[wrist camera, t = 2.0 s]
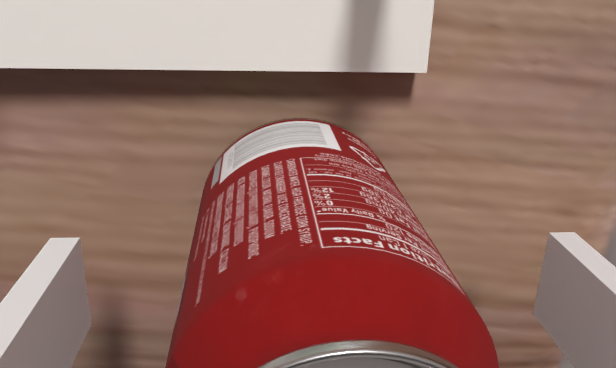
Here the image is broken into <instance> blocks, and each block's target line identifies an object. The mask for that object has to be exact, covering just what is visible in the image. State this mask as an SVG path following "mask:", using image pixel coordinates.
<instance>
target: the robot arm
mask: <svg viewBox="0 0 616 368" xmlns="http://www.w3.org/2000/svg"><path fill="white" fill-rule="evenodd" d="M533 315H534V316H535V317H536V319H537V320H538V321H539V323H540V324H541V325H542V326H543V328H544V329H545V330H546V332H547V333H548V334H549V335H550V337H551V338H552V339H553V341H554V342H555V343H556V344H557V346H558V347H559V348H560V349H561V351H562V352H563V353H564V355H565V356H566V357H567V358H568V360H569V361H570V362H571V364H572V365H573V366H574V367H575V368H616V267H615V266H613V265H612V264H611V263H610V262H609V261H608V260H606V259H605V258H604V257H603V256H602V255H601V254H599V253H598V252H597V251H596V250H595V249H593V248H592V247H591V246H590V245H589V244H588V243H586V242H585V241H584V240H583V239H582V238H581V237H579V236H578V235H577V234H576V233H575V232H561V233H549V236H548V241H547V246H546V251H545V255H544V260H543V265H542V270H541V275H540V280H539V285H538V290H537V295H536V300H535V305H534V310H533ZM90 326H91V317H90V309H89V302H88V294H87V287H86V279H85V272H84V264H83V257H82V250H81V242H80V238H50V239H49V241H48V242H47V243H46V244H45V246H44V247H43V248H42V250H41V251H40V252H39V254H38V255H37V256H36V257H35V259H34V260H33V261H32V263H31V264H30V265H29V267H28V268H27V269H26V270H25V272H24V273H23V274H22V276H21V277H20V278H19V280H18V281H17V282H16V284H15V285H14V286H13V287H12V289H11V290H10V291H9V293H8V294H7V295H6V297H5V298H4V299H3V300H2V302H1V303H0V368H71V366H72V364H73V362H74V360H75V358H76V356H77V354H78V352H79V349H80V347H81V345H82V343H83V341H84V339H85V337H86V335H87V332H88V330H89V328H90Z"/></svg>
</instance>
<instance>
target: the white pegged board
mask: <svg viewBox="0 0 616 368" xmlns="http://www.w3.org/2000/svg"><path fill="white" fill-rule="evenodd" d="M433 8H434V0H0V68H41V69H131V70H221V71H311V72H401V73H427V65H428V56H429V46H430V37H431V27H432V17H433Z"/></svg>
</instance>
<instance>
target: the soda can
mask: <svg viewBox="0 0 616 368" xmlns="http://www.w3.org/2000/svg"><path fill="white" fill-rule="evenodd" d="M165 368H499V365H498V359H497V354H496V350H495V347H494V344H493V341H492V338H491V336H490V334H489V331H488V329H487V327H486V325H485V323H484V322H483V320H482V318H481V317H480V315H479V314H478V312H477V310H476V309H475V307H474V306H473V304H472V303H471V301H470V299H469V298H468V296H467V295H466V293H465V292H464V290H463V289H462V287H461V286H460V284H459V282H458V281H457V279H456V278H455V276H454V275H453V273H452V272H451V270H450V268H449V267H448V265H447V264H446V262H445V261H444V259H443V258H442V256H441V254H440V253H439V251H438V250H437V248H436V247H435V245H434V244H433V242H432V241H431V239H430V237H429V236H428V234H427V233H426V231H425V230H424V228H423V227H422V225H421V223H420V222H419V220H418V219H417V217H416V216H415V214H414V213H413V211H412V209H411V208H410V206H409V205H408V203H407V202H406V200H405V199H404V197H403V195H402V194H401V192H400V191H399V189H398V188H397V186H396V185H395V183H394V182H393V180H392V178H391V177H390V175H389V174H388V172H387V171H386V169H385V168H384V166H383V164H382V163H381V161H380V160H379V158H378V157H377V155H376V154H375V153H374V152H373V150H372V149H371V148H370V147H369V146H368V145H367V144H366V143H365V142H364V141H363V140H361V139H360V138H359V137H358V136H356V135H355V134H353V133H352V132H350V131H348V130H346V129H344V128H343V127H340V126H338V125H335V124H333V123H329V122H326V121H322V120H317V119H309V118H291V119H283V120H278V121H273V122H270V123H267V124H264V125H261V126H259V127H256V128H254V129H252V130H251V131H249V132H247V133H245V134H244V135H242V136H241V137H239V138H238V139H237V140H235V141H234V142H233V143H232V144H231V145H230V146H229V147H228V148H227V149H225V151H224V152H223V153H222V154H221V155H220V157H219V158H218V159H217V161H216V162H215V164H214V165H213V167H212V169H211V171H210V173H209V175H208V177H207V180H206V183H205V186H204V189H203V194H202V198H201V203H200V208H199V213H198V217H197V222H196V227H195V231H194V236H193V241H192V245H191V250H190V255H189V259H188V264H187V269H186V274H185V278H184V283H183V288H182V292H181V297H180V302H179V306H178V311H177V316H176V320H175V325H174V330H173V335H172V339H171V344H170V349H169V353H168V358H167V363H166V367H165Z"/></svg>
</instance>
